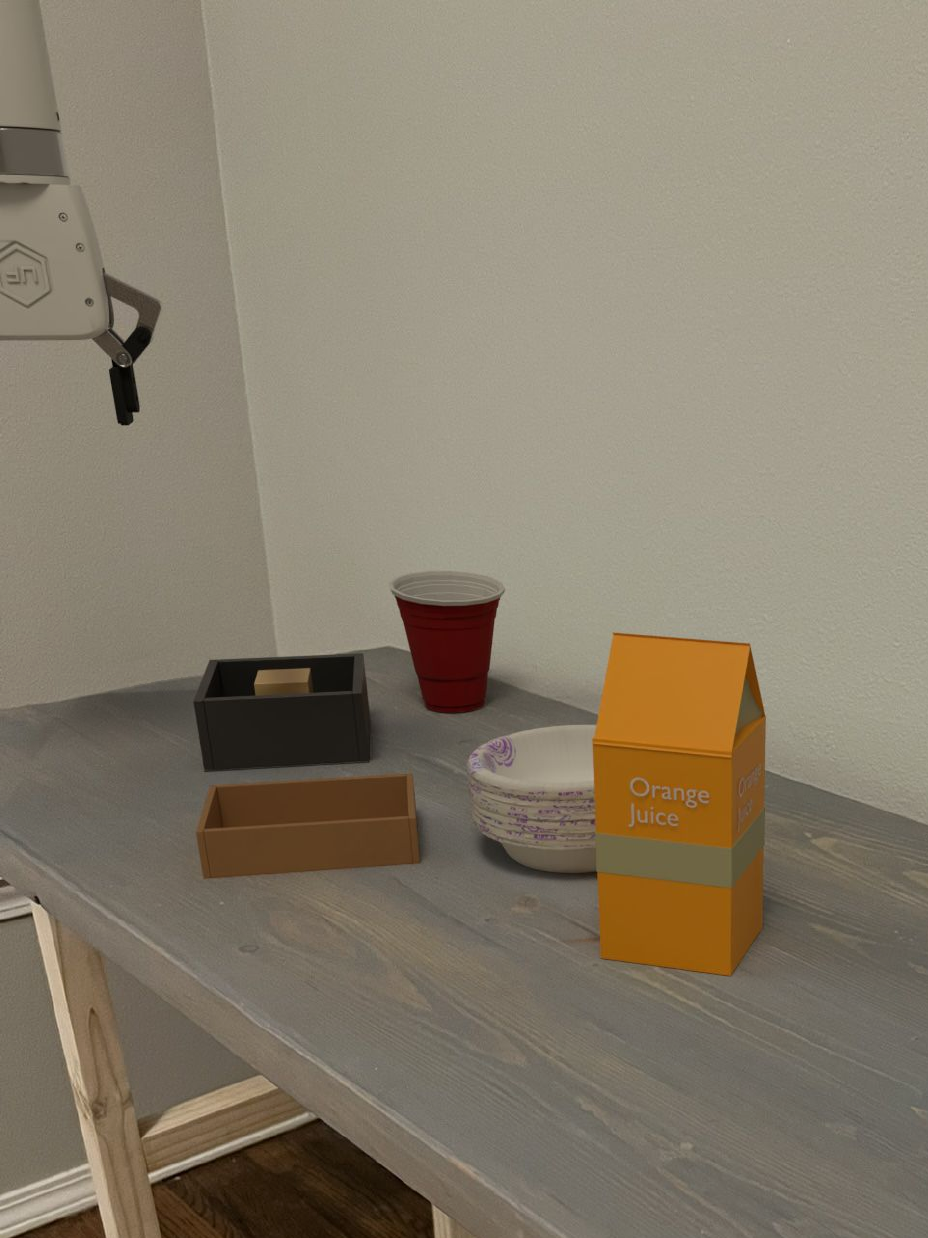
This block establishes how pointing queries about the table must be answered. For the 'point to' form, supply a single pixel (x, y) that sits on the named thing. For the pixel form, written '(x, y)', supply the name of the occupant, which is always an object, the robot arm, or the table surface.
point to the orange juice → (679, 803)
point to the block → (283, 682)
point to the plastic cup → (449, 634)
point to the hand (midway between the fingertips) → (57, 424)
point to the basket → (283, 715)
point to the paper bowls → (538, 796)
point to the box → (308, 825)
